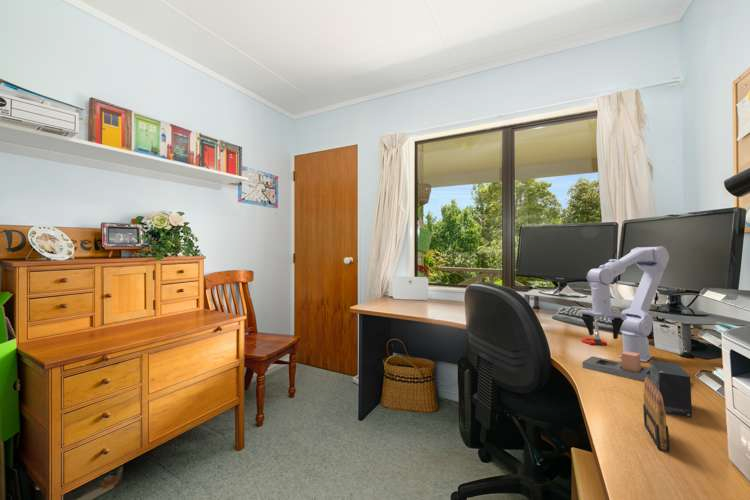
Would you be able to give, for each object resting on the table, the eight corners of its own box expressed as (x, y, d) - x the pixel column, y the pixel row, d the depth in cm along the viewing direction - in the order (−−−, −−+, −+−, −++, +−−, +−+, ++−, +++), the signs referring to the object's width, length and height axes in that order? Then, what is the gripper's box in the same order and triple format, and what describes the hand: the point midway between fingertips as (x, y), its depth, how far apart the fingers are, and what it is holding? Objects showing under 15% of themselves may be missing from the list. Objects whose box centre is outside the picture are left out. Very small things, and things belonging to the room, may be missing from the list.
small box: (695, 419, 76) (692, 376, 76) (659, 413, 79) (656, 372, 79) (681, 401, 85) (679, 362, 85) (650, 396, 88) (648, 359, 88)
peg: (626, 371, 107) (625, 350, 107) (641, 374, 104) (639, 353, 104) (622, 374, 104) (621, 353, 105) (637, 377, 101) (636, 356, 101)
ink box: (658, 347, 130) (657, 320, 131) (685, 354, 121) (683, 324, 121) (653, 348, 130) (651, 320, 130) (679, 354, 121) (677, 325, 121)
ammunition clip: (644, 424, 74) (640, 374, 75) (654, 426, 74) (650, 375, 74) (658, 450, 65) (654, 392, 65) (670, 452, 64) (666, 393, 64)
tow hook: (578, 340, 146) (588, 345, 137) (576, 313, 147) (586, 315, 138) (597, 340, 145) (609, 345, 136) (595, 312, 146) (607, 315, 137)
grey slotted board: (592, 361, 117) (592, 356, 117) (689, 382, 96) (688, 375, 96) (582, 367, 112) (582, 361, 112) (683, 390, 91) (682, 383, 91)
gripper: (575, 299, 121) (577, 335, 120) (621, 303, 109) (623, 342, 109) (582, 297, 125) (584, 331, 124) (627, 301, 113) (629, 338, 113)
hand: (603, 336), depth 117 cm, fingers open, 7 cm apart
